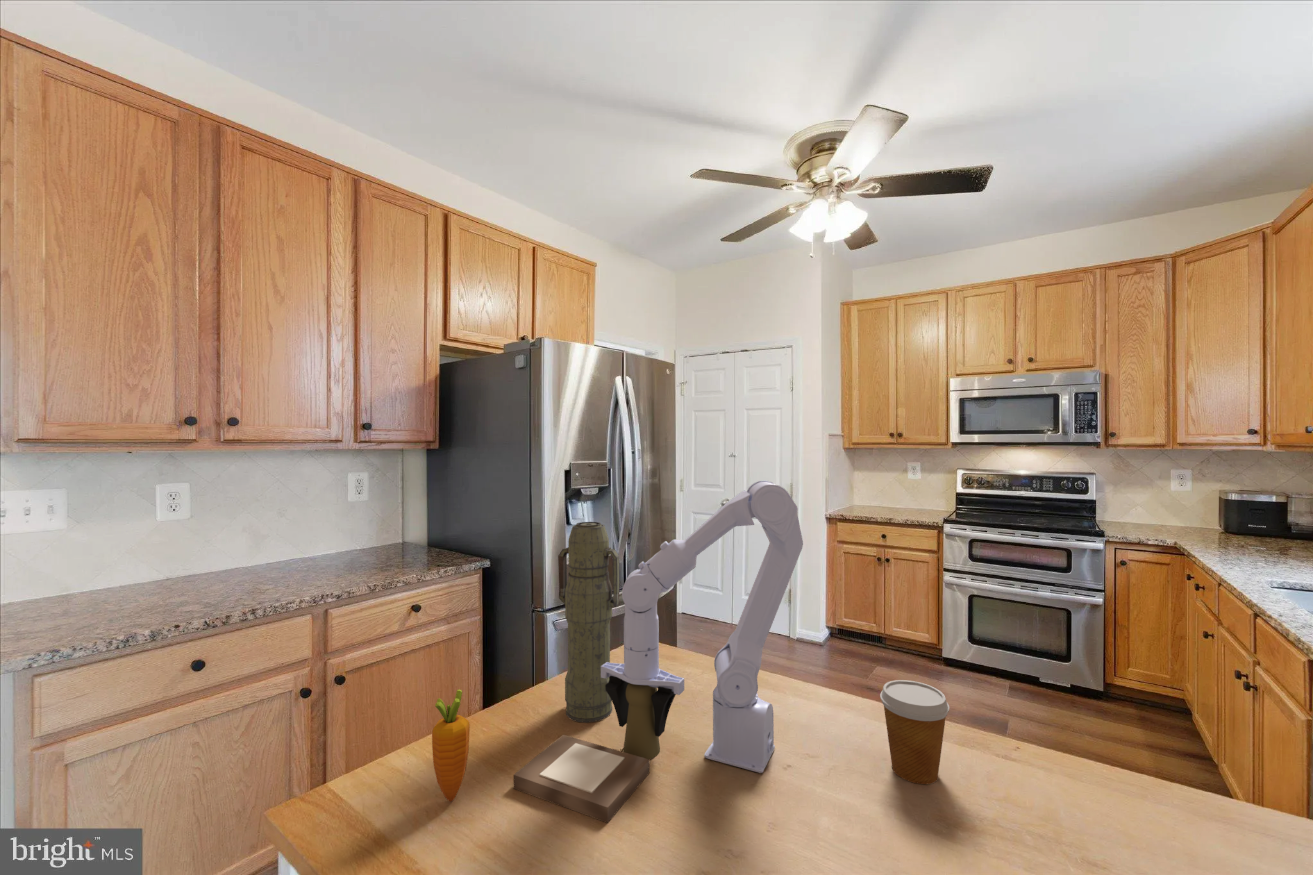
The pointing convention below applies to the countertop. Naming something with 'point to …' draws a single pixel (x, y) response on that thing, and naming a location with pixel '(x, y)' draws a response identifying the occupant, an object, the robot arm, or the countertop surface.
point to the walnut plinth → (583, 777)
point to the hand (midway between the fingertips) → (641, 728)
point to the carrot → (450, 747)
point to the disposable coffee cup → (914, 728)
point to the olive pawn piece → (641, 722)
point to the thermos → (588, 619)
